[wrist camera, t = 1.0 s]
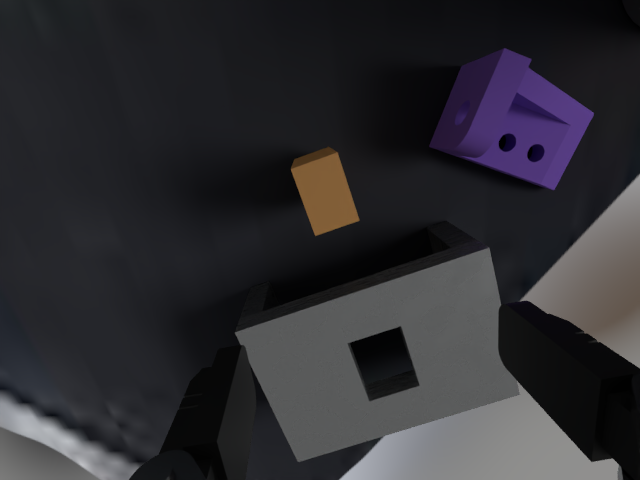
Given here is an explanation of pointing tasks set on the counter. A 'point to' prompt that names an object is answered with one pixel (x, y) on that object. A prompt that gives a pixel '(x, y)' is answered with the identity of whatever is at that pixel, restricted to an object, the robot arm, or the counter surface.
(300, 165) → the orange rectangular block
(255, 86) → the counter surface
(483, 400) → the grey slotted platform
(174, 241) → the counter surface
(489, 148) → the bracket
